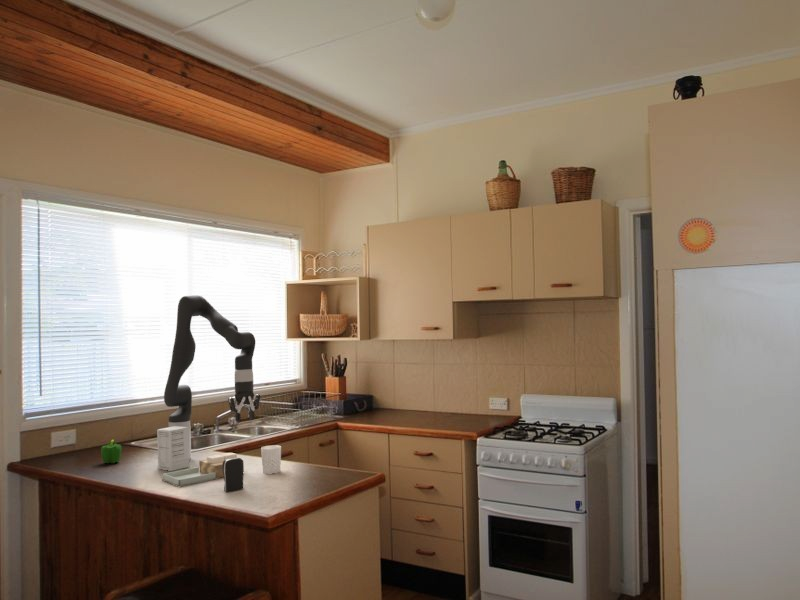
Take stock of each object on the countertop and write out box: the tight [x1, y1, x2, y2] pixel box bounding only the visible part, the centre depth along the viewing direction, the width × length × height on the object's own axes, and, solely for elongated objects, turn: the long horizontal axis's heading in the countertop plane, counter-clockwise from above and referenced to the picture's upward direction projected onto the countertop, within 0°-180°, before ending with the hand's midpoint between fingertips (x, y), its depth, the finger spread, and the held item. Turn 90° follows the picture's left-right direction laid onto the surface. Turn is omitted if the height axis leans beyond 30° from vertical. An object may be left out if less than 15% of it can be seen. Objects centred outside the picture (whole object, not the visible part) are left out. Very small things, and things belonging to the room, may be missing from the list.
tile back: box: [219, 452, 238, 460], centre depth 254 cm, size 5×5×2 cm
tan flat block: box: [199, 458, 245, 479], centre depth 252 cm, size 14×12×5 cm
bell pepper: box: [100, 439, 123, 464], centre depth 279 cm, size 8×8×10 cm
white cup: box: [260, 444, 282, 475], centre depth 251 cm, size 8×8×10 cm
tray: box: [161, 466, 217, 487], centre depth 243 cm, size 15×15×2 cm
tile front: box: [206, 454, 224, 464], centre depth 250 cm, size 5×5×2 cm
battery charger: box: [222, 457, 244, 493], centre depth 225 cm, size 7×4×11 cm, turn 131°
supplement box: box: [156, 426, 190, 472], centre depth 264 cm, size 10×9×17 cm
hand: (245, 420), depth 260 cm, fingers open, 5 cm apart
